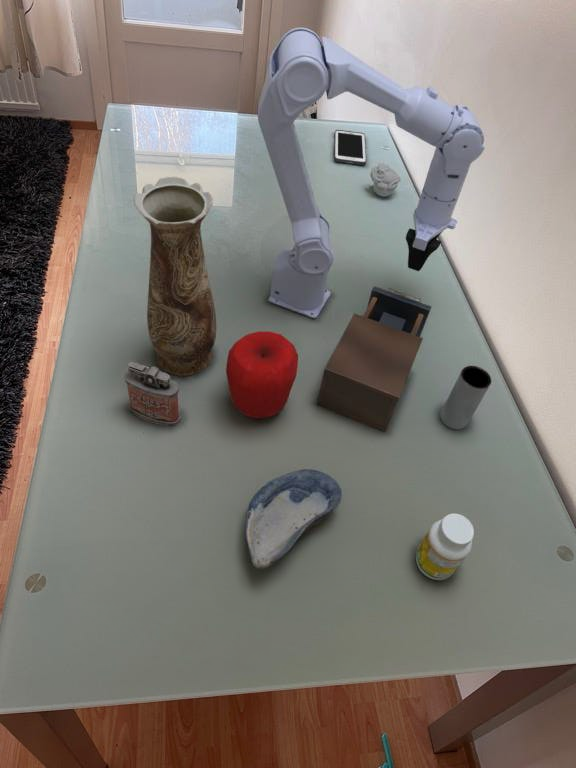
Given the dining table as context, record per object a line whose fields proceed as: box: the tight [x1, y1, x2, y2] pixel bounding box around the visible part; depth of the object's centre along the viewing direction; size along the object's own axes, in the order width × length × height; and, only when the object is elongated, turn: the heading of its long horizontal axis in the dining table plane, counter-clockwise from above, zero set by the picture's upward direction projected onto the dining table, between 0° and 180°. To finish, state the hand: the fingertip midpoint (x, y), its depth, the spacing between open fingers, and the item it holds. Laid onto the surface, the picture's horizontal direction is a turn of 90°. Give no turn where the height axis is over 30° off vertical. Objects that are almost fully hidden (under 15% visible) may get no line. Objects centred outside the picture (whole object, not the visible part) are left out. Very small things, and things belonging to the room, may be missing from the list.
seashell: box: [245, 468, 343, 569], centre depth 77 cm, size 15×12×5 cm
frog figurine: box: [369, 162, 402, 198], centre depth 132 cm, size 6×7×7 cm
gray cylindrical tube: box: [439, 365, 492, 430], centre depth 90 cm, size 4×4×10 cm
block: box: [379, 312, 406, 330], centre depth 100 cm, size 4×4×4 cm
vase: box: [133, 176, 217, 377], centre depth 85 cm, size 10×11×30 cm
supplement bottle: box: [415, 513, 475, 581], centre depth 74 cm, size 5×5×10 cm
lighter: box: [124, 361, 181, 427], centre depth 85 cm, size 8×3×10 cm, turn 71°
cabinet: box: [316, 312, 423, 433], centre depth 93 cm, size 14×12×9 cm
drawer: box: [362, 285, 432, 337], centre depth 100 cm, size 17×10×7 cm, turn 157°
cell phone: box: [333, 129, 367, 166], centre depth 146 cm, size 8×15×1 cm, turn 177°
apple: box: [225, 331, 299, 419], centre depth 87 cm, size 10×10×14 cm
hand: (417, 260), depth 103 cm, fingers open, 4 cm apart
